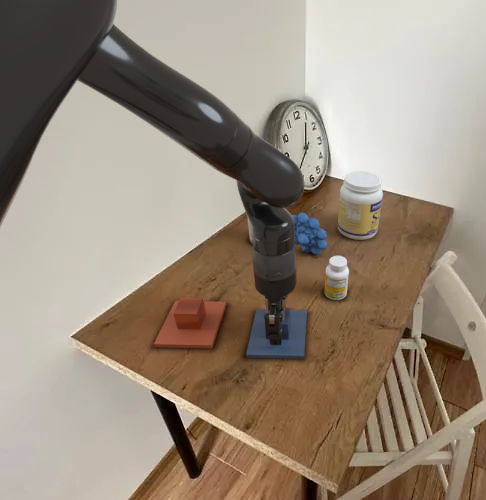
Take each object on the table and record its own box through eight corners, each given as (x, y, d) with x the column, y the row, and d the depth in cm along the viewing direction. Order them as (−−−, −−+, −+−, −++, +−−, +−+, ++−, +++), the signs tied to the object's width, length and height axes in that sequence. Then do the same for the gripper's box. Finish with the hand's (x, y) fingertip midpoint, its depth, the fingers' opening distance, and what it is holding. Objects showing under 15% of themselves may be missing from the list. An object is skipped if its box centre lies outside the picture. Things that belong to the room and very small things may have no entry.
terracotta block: (200, 329, 72) (196, 314, 69) (177, 329, 71) (172, 313, 69) (206, 313, 75) (203, 298, 73) (184, 312, 75) (180, 297, 72)
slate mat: (303, 359, 69) (303, 355, 68) (246, 357, 68) (246, 354, 68) (306, 313, 78) (306, 310, 78) (256, 312, 78) (256, 309, 77)
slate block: (288, 339, 71) (288, 324, 68) (266, 339, 71) (264, 323, 68) (290, 322, 75) (290, 307, 72) (269, 322, 74) (267, 306, 72)
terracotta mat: (212, 348, 69) (211, 345, 69) (154, 347, 69) (153, 343, 68) (226, 304, 79) (226, 301, 78) (176, 303, 79) (175, 300, 78)
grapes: (280, 255, 95) (278, 216, 88) (291, 242, 100) (290, 204, 93) (320, 266, 92) (322, 227, 85) (329, 252, 97) (332, 214, 90)
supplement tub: (373, 245, 101) (381, 191, 92) (332, 236, 104) (335, 184, 94) (380, 223, 111) (388, 173, 101) (342, 216, 113) (346, 166, 103)
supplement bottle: (331, 282, 87) (334, 250, 82) (351, 290, 85) (354, 258, 80) (320, 294, 84) (321, 262, 78) (339, 304, 81) (342, 271, 76)
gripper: (259, 241, 68) (264, 302, 78) (245, 291, 57) (253, 356, 66) (299, 242, 68) (299, 303, 78) (293, 293, 57) (294, 357, 66)
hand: (278, 327), depth 72 cm, fingers open, 7 cm apart
